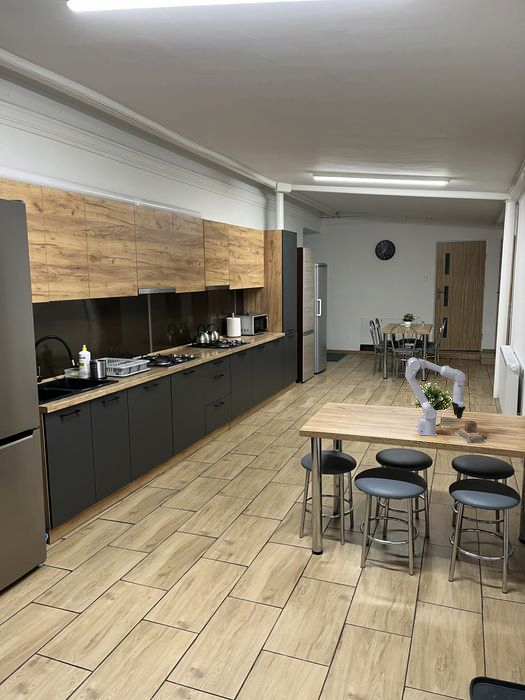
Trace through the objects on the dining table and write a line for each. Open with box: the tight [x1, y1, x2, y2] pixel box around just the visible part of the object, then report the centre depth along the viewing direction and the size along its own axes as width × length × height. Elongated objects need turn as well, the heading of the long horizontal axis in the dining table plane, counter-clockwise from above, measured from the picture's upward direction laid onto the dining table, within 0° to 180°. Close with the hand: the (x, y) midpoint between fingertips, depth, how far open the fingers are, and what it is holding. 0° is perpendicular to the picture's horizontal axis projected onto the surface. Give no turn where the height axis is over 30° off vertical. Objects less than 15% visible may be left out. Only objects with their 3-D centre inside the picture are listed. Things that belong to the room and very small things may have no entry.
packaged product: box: [454, 427, 486, 444], centre depth 297 cm, size 18×5×10 cm
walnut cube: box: [464, 420, 478, 433], centre depth 296 cm, size 5×5×5 cm
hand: (457, 416), depth 302 cm, fingers open, 7 cm apart
